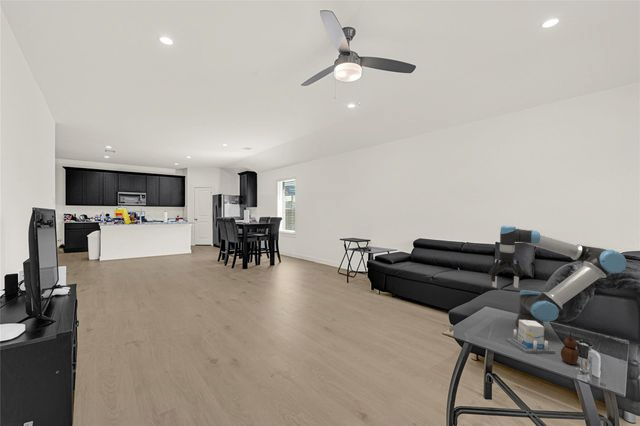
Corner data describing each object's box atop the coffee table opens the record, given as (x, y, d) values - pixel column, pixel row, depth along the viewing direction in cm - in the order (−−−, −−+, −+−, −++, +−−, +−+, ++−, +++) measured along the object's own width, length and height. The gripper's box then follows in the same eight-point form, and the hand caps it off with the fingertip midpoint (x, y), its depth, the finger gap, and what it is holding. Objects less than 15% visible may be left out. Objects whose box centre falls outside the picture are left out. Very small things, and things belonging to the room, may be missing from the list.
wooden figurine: (572, 366, 132) (574, 335, 132) (558, 360, 138) (559, 330, 137) (580, 364, 135) (582, 333, 135) (566, 358, 140) (567, 328, 140)
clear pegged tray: (532, 340, 159) (532, 329, 159) (556, 353, 144) (556, 341, 144) (505, 340, 158) (505, 329, 158) (526, 353, 143) (527, 341, 143)
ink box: (544, 349, 146) (545, 326, 146) (525, 347, 148) (527, 325, 147) (534, 341, 155) (535, 320, 154) (517, 339, 156) (518, 318, 156)
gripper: (521, 251, 174) (520, 285, 174) (482, 250, 172) (481, 285, 172) (531, 253, 166) (529, 289, 166) (491, 252, 164) (489, 288, 165)
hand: (505, 287), depth 169 cm, fingers open, 13 cm apart
